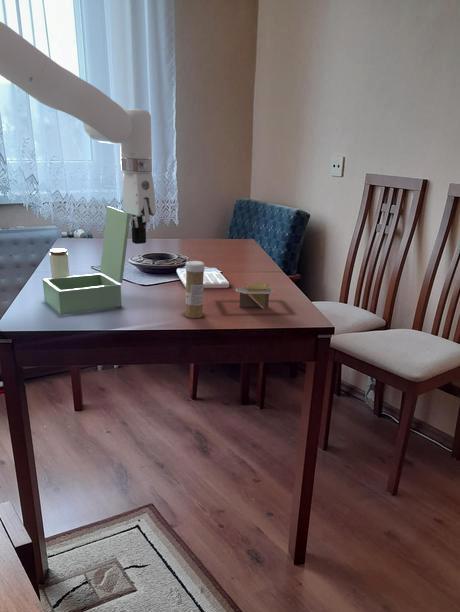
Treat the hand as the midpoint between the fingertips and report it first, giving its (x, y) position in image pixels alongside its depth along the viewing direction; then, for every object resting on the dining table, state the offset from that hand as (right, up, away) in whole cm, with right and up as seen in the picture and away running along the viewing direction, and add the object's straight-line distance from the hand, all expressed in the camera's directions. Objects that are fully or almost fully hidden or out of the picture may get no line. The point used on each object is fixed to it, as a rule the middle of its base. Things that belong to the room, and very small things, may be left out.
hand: (139, 242), depth 144 cm
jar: (-23, -10, +11) cm, 28 cm away
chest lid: (-6, -1, -4) cm, 7 cm away
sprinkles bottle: (+15, -20, -4) cm, 25 cm away
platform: (+30, -16, +4) cm, 35 cm away
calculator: (+15, -3, +28) cm, 32 cm away
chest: (-14, -17, -1) cm, 22 cm away
